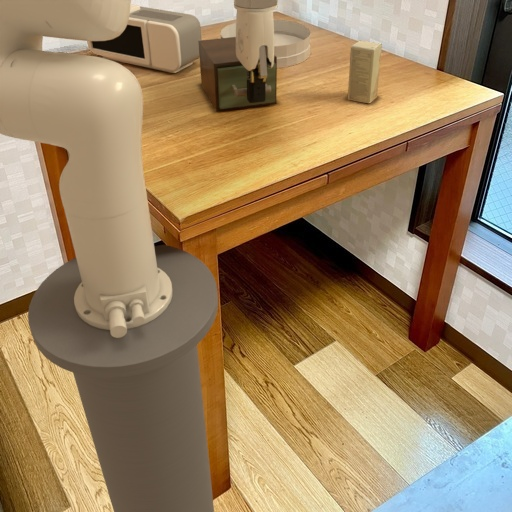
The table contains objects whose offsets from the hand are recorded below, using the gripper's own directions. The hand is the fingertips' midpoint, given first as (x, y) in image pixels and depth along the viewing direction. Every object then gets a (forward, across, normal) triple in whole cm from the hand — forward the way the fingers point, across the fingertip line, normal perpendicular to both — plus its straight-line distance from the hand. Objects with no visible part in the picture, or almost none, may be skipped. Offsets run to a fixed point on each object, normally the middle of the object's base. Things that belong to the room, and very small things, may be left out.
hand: (256, 100), depth 113 cm
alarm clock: (+4, -40, -16) cm, 44 cm away
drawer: (+3, -10, 0) cm, 11 cm away
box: (+4, -5, +24) cm, 25 cm away
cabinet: (+4, -14, 0) cm, 15 cm away
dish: (+4, -38, +13) cm, 40 cm away
